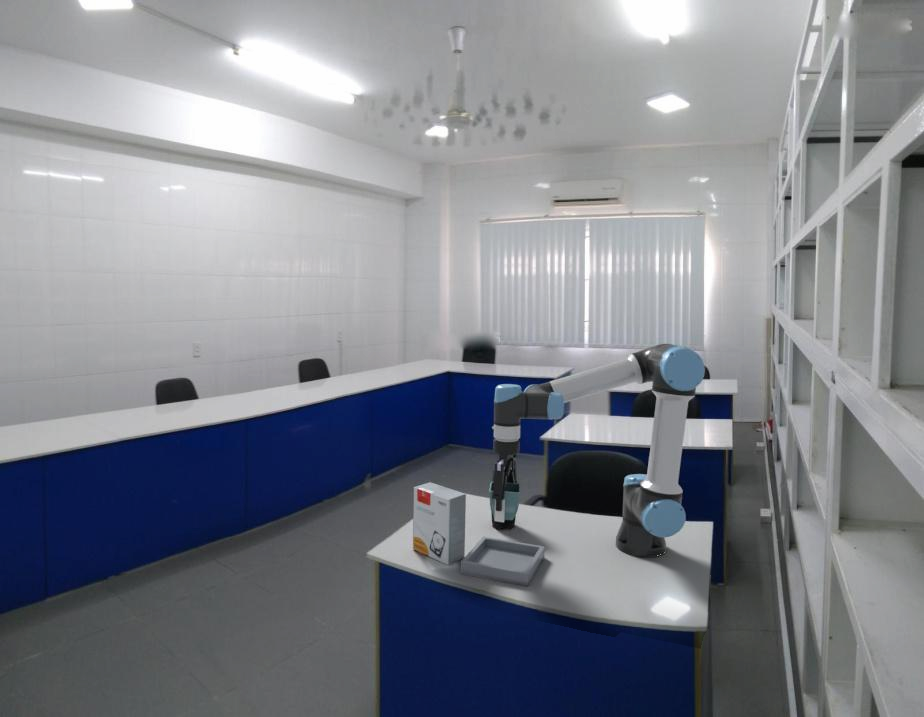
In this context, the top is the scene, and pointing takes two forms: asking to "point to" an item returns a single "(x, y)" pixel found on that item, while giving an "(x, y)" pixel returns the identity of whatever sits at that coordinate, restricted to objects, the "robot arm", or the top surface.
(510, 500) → the flower pot
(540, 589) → the top surface
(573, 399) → the robot arm
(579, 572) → the top surface
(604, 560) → the top surface
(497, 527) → the portable speaker
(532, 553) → the tray
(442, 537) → the hard drive box
